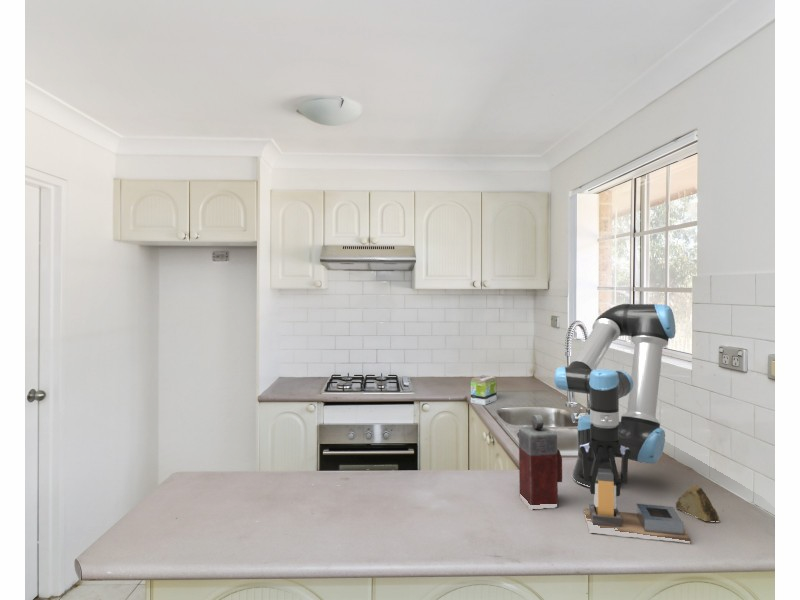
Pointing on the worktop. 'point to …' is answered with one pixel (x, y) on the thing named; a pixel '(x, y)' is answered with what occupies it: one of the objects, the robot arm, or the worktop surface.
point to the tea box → (483, 389)
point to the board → (625, 523)
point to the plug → (605, 492)
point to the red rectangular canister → (539, 463)
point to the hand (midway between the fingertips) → (604, 505)
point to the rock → (697, 504)
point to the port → (659, 519)
